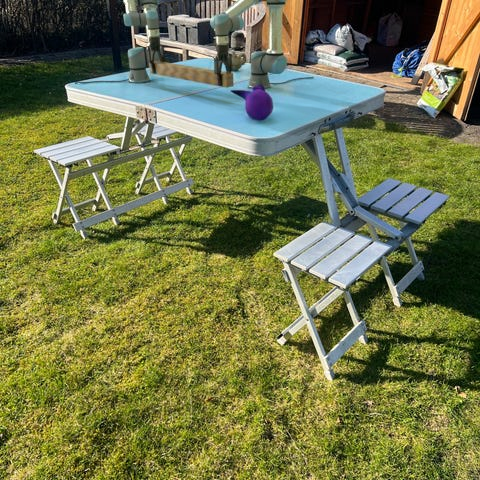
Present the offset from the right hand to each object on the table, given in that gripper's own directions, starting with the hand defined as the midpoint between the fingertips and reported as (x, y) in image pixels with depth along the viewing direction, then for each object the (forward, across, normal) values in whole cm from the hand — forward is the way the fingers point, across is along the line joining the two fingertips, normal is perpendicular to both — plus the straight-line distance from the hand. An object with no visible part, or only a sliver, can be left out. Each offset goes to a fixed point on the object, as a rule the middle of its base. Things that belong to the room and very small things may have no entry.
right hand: (224, 84), depth 273 cm
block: (0, 0, +32) cm, 32 cm away
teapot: (+11, +80, +68) cm, 105 cm away
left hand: (0, -1, +64) cm, 64 cm away
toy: (+10, -16, -38) cm, 43 cm away
